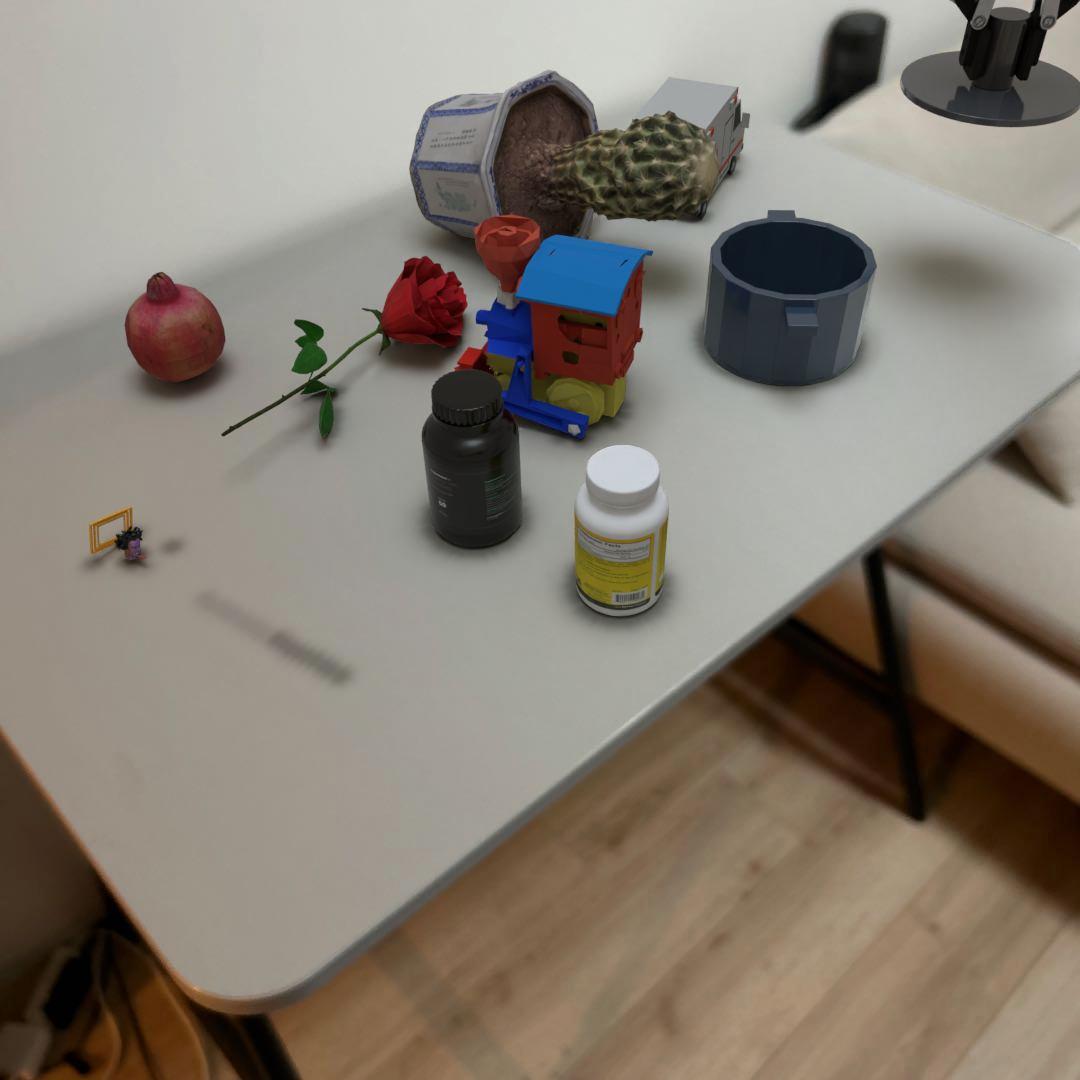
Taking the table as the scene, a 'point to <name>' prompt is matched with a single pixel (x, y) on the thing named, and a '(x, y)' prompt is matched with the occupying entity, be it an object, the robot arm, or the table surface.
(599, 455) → the pill bottle
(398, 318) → the flower
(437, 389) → the supplement bottle
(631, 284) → the toy train
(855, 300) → the pot
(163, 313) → the fruit
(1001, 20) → the lid
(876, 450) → the table surface
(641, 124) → the potted plant
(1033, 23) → the robot arm
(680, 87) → the toy vehicle
